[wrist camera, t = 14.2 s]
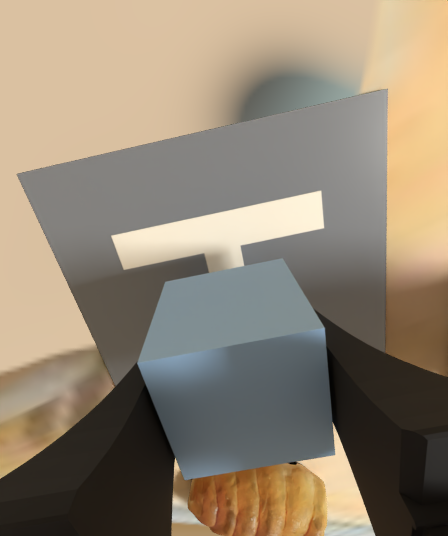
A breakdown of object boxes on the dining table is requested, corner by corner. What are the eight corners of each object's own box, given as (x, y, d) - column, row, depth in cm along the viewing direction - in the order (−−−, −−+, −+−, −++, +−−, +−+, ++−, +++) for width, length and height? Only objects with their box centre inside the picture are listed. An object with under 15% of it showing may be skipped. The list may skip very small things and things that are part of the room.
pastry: (183, 501, 23) (177, 565, 19) (200, 441, 20) (197, 502, 17) (296, 513, 24) (311, 576, 21) (326, 458, 22) (348, 519, 18)
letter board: (385, 89, 12) (388, 88, 12) (383, 380, 18) (385, 383, 18) (19, 173, 13) (16, 174, 13) (135, 425, 19) (134, 428, 19)
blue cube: (282, 258, 12) (324, 327, 8) (295, 353, 14) (335, 454, 10) (165, 281, 12) (137, 362, 8) (193, 372, 14) (184, 479, 10)
